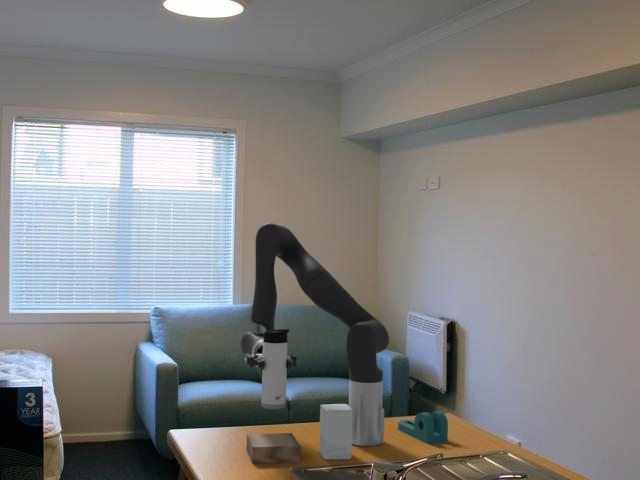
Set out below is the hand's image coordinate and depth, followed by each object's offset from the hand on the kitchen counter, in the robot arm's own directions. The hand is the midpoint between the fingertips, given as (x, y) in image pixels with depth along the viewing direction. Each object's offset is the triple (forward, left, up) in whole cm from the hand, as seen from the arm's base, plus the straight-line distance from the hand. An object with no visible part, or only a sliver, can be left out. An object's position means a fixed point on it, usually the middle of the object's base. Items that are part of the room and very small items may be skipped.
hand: (276, 365), depth 191 cm
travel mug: (0, -2, -11) cm, 11 cm away
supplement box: (-16, 0, -24) cm, 29 cm away
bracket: (-45, -17, -24) cm, 54 cm away
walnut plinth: (0, -2, -24) cm, 24 cm away
